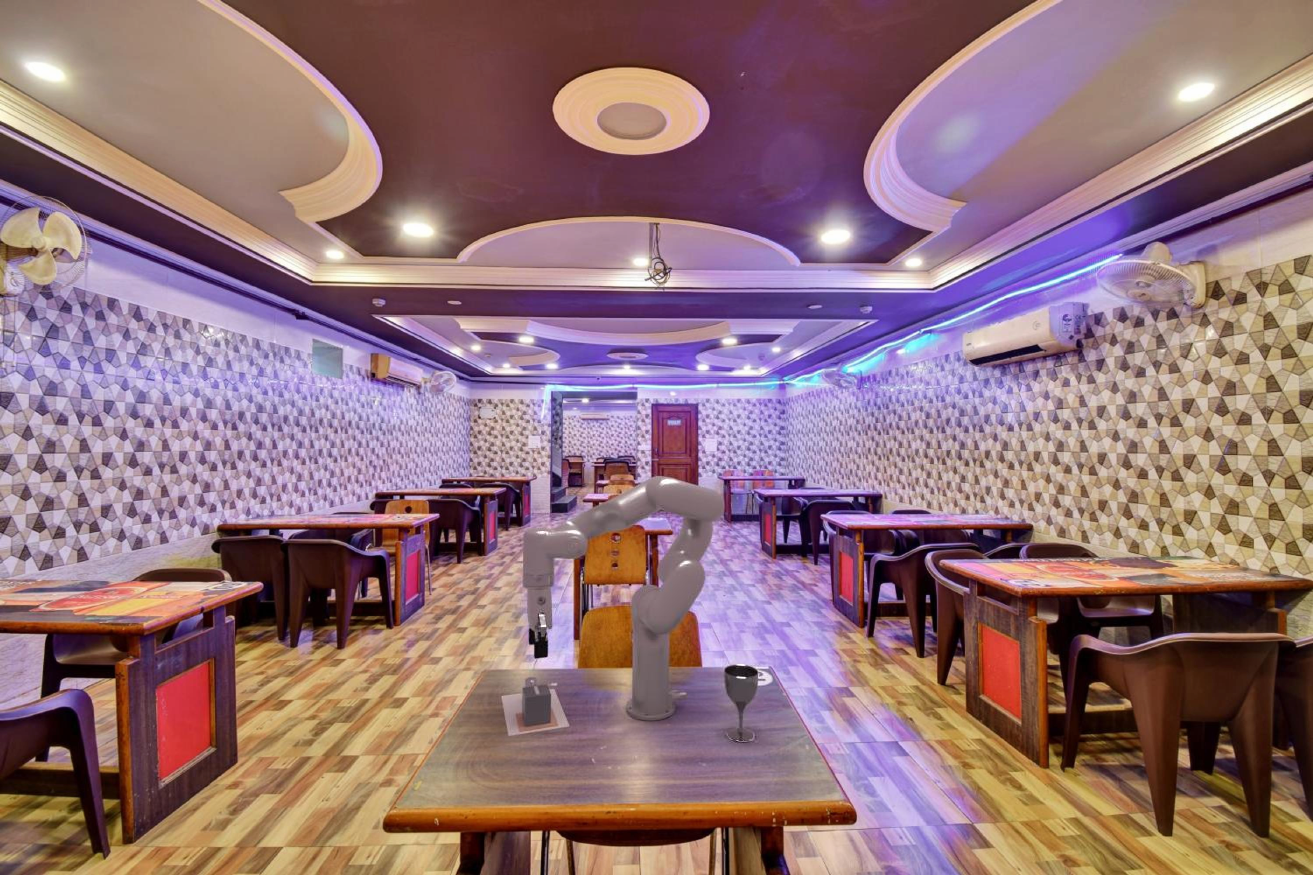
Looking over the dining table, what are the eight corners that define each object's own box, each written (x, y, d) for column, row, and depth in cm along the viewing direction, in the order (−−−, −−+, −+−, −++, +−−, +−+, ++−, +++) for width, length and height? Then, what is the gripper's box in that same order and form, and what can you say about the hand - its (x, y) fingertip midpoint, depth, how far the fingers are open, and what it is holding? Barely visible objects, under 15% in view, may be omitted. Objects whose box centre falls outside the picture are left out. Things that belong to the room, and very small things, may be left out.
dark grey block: (550, 722, 132) (551, 693, 132) (525, 726, 130) (525, 696, 130) (546, 711, 138) (547, 683, 138) (522, 715, 136) (522, 686, 136)
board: (554, 694, 152) (554, 687, 152) (569, 732, 131) (569, 724, 131) (501, 701, 147) (501, 694, 147) (508, 742, 127) (508, 734, 127)
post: (535, 697, 146) (536, 676, 147) (537, 702, 144) (537, 680, 144) (524, 699, 145) (524, 677, 146) (525, 704, 143) (525, 682, 143)
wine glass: (764, 734, 131) (764, 670, 132) (745, 747, 125) (745, 680, 126) (736, 723, 137) (736, 661, 137) (717, 735, 131) (717, 670, 131)
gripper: (560, 586, 128) (559, 661, 128) (548, 571, 145) (547, 637, 144) (527, 589, 126) (526, 665, 125) (518, 573, 142) (518, 640, 142)
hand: (538, 650), depth 135 cm, fingers open, 9 cm apart
